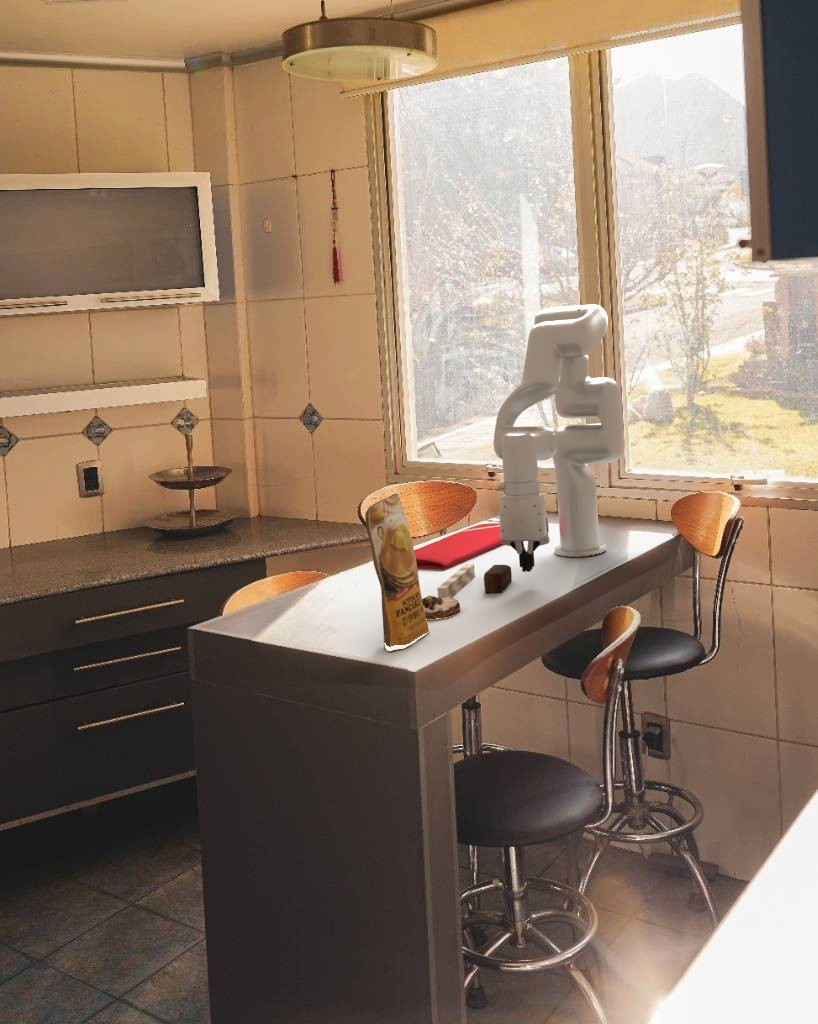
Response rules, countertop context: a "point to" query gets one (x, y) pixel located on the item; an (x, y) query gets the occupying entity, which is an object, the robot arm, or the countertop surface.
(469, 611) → the countertop surface
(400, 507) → the pancake mix bag
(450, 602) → the cream topped tart
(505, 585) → the brick
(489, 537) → the dish drying mat
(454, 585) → the beige long bar
